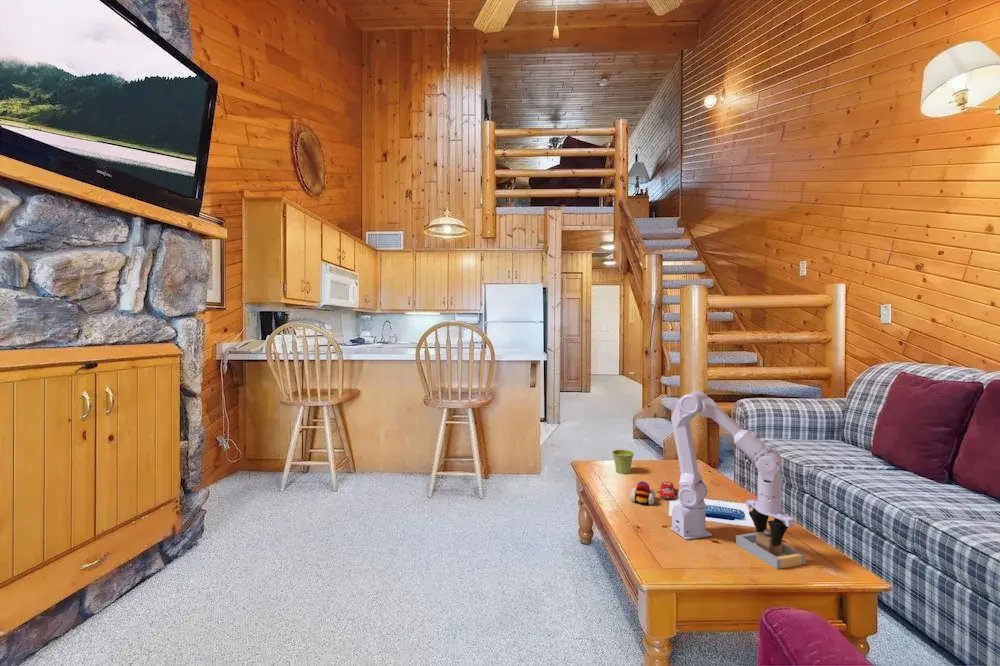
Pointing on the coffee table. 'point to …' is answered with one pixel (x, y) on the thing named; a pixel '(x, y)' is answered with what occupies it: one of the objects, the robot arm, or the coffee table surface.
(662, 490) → the race car
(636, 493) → the rainbow flower
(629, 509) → the coffee table surface
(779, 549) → the block with grey knob
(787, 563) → the tray
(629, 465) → the plant pot
